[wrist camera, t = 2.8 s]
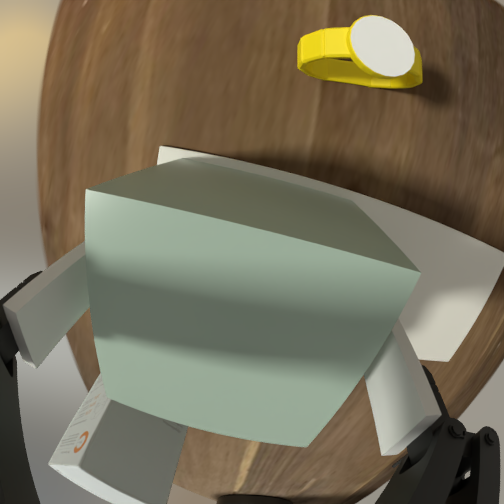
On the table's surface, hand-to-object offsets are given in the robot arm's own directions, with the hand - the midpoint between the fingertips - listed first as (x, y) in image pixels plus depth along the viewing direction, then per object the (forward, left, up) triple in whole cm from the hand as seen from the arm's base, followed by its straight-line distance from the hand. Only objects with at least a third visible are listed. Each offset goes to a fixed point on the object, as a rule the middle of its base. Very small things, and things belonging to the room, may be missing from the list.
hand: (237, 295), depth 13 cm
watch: (+12, -3, -6) cm, 13 cm away
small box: (-14, +6, -6) cm, 16 cm away
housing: (0, 0, -5) cm, 5 cm away
